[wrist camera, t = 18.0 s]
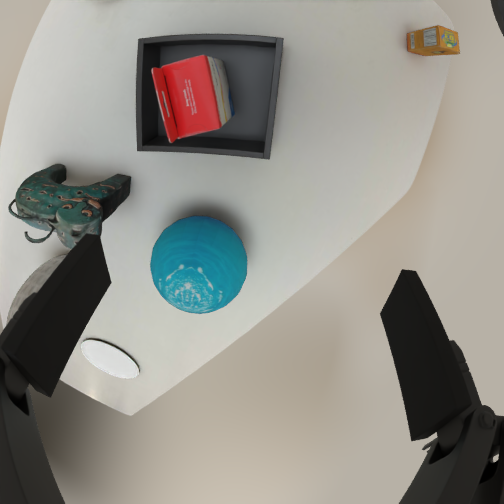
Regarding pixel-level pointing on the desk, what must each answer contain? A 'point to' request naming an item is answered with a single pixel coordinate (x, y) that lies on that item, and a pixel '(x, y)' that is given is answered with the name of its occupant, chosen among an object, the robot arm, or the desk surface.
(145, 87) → the basket
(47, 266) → the vase
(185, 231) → the decorative orb
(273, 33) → the desk surface
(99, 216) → the ceramic cat
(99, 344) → the plate
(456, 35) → the supplement box
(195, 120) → the ink box
